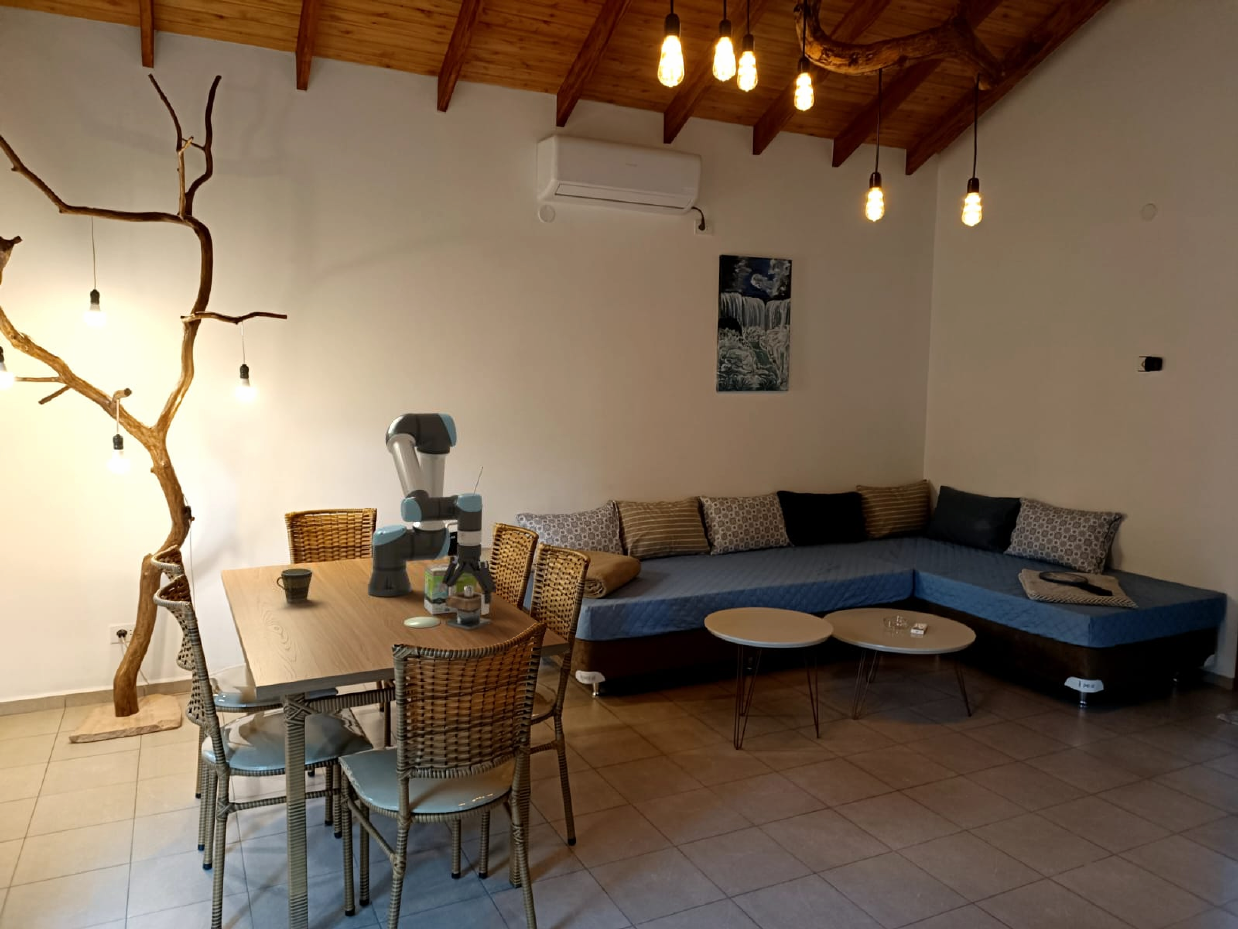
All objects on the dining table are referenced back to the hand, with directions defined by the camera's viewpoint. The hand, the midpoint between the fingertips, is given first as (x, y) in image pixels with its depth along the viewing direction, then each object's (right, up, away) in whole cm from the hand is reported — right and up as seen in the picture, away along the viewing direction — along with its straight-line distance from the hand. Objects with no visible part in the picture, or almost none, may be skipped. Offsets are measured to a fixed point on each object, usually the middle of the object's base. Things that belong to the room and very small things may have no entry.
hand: (468, 610), depth 271 cm
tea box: (-9, -3, +16) cm, 19 cm away
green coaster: (-15, -4, 0) cm, 15 cm away
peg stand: (0, -4, 0) cm, 4 cm away
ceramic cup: (-63, -1, +21) cm, 66 cm away
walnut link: (0, +2, 0) cm, 2 cm away
